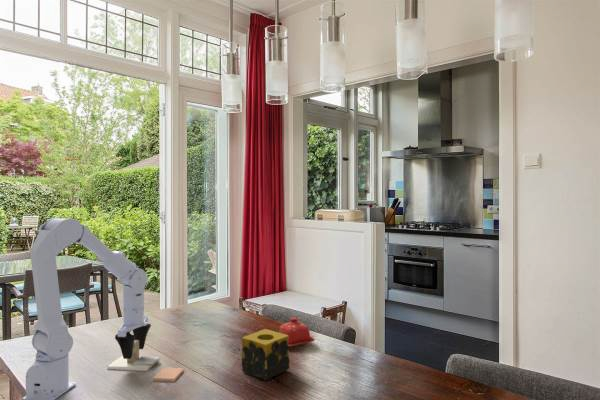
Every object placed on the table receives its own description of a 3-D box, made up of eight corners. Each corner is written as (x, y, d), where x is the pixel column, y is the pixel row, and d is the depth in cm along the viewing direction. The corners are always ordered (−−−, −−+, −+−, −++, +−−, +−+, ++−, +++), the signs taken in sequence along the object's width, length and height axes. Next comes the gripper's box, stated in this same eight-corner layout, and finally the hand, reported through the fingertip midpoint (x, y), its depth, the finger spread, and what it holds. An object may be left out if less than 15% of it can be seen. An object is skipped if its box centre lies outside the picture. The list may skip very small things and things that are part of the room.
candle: (265, 361, 126) (265, 328, 126) (290, 369, 120) (290, 334, 120) (240, 371, 118) (240, 336, 118) (266, 381, 112) (265, 344, 112)
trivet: (147, 370, 119) (147, 367, 119) (107, 369, 120) (107, 366, 120) (158, 360, 127) (158, 357, 127) (121, 359, 128) (121, 356, 128)
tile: (152, 383, 112) (174, 383, 111) (152, 378, 112) (174, 378, 111) (163, 372, 119) (183, 372, 118) (163, 367, 119) (183, 368, 118)
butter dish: (272, 340, 146) (271, 315, 146) (300, 334, 151) (300, 311, 151) (286, 350, 136) (286, 324, 136) (316, 344, 141) (316, 319, 141)
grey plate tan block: (153, 365, 120) (153, 344, 120) (124, 364, 121) (124, 344, 121) (160, 358, 125) (160, 339, 125) (133, 358, 126) (133, 338, 126)
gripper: (134, 314, 116) (135, 363, 116) (157, 302, 130) (157, 345, 130) (110, 314, 116) (110, 362, 116) (135, 301, 131) (135, 344, 131)
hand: (133, 353), depth 123 cm, fingers open, 7 cm apart
